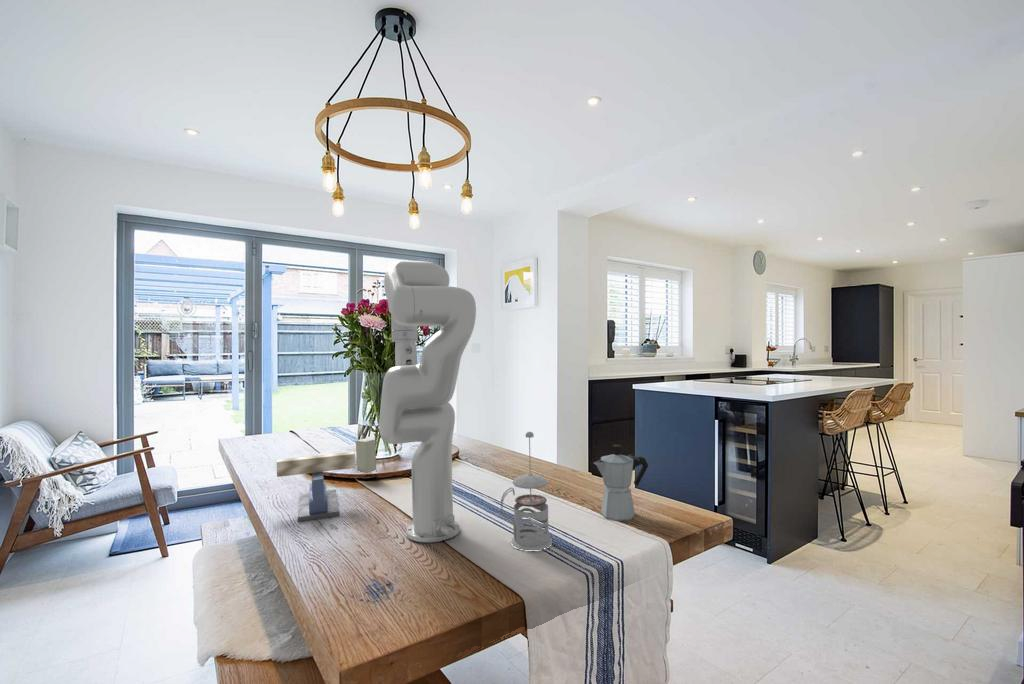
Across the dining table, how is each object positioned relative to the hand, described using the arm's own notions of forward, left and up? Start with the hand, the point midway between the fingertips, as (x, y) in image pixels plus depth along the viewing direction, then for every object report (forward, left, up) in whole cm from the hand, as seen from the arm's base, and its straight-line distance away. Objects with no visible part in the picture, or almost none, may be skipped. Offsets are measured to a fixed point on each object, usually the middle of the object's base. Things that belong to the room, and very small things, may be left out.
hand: (406, 394), depth 143 cm
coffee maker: (-54, -31, -30) cm, 69 cm away
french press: (-49, -2, -30) cm, 57 cm away
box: (+25, +1, -30) cm, 39 cm away
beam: (+9, +23, -20) cm, 32 cm away
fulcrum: (+9, +23, -30) cm, 39 cm away
